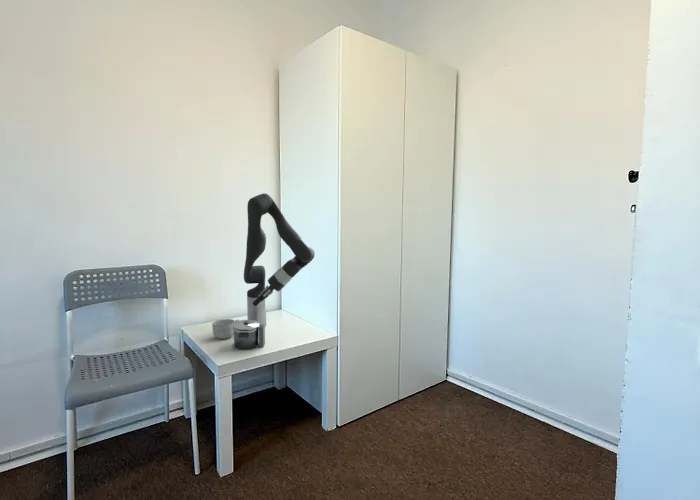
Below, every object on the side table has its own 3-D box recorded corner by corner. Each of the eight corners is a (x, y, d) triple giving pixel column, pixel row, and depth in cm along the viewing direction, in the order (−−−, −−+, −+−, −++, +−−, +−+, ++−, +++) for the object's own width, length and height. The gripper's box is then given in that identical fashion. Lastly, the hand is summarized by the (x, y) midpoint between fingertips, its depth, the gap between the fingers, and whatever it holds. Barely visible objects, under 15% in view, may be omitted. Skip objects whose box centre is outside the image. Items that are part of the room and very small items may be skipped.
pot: (237, 339, 196) (237, 321, 194) (266, 339, 196) (266, 321, 195) (230, 351, 181) (230, 331, 180) (261, 351, 182) (261, 331, 181)
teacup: (213, 342, 192) (213, 325, 191) (211, 334, 202) (211, 319, 201) (243, 338, 198) (242, 322, 197) (239, 331, 208) (239, 316, 207)
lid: (236, 321, 193) (236, 317, 193) (261, 322, 194) (261, 318, 194) (230, 330, 181) (230, 325, 181) (256, 331, 182) (257, 326, 182)
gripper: (276, 270, 191) (250, 295, 192) (272, 276, 178) (245, 302, 179) (287, 281, 192) (262, 306, 193) (284, 287, 179) (257, 314, 180)
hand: (254, 304), depth 186 cm, fingers closed
